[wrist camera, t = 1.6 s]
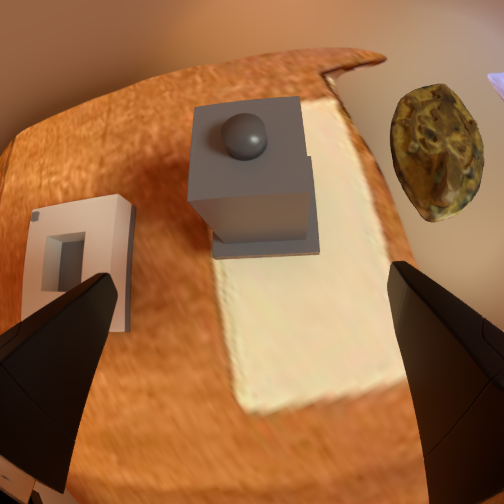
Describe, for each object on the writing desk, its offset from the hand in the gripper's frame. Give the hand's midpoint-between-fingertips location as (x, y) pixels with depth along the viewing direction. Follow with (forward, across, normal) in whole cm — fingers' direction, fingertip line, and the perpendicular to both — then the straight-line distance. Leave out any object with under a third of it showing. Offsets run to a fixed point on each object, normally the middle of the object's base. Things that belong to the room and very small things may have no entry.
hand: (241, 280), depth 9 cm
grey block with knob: (+13, 0, +4) cm, 14 cm away
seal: (+18, -15, 0) cm, 23 cm away
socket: (+11, +16, +7) cm, 20 cm away
